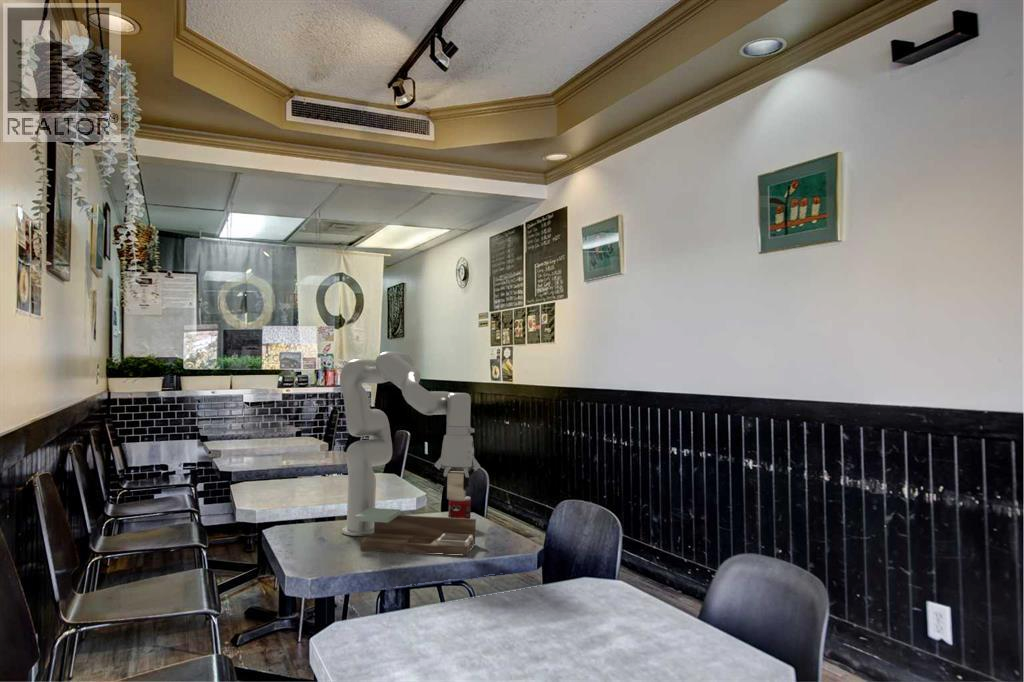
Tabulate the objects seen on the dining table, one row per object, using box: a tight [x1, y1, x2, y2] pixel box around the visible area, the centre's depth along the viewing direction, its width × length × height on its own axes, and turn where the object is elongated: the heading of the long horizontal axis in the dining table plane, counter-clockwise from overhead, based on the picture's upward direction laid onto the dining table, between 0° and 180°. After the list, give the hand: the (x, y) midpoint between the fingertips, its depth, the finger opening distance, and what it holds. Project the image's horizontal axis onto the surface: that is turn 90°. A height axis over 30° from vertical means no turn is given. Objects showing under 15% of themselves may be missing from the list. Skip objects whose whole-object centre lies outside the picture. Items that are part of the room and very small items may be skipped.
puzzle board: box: [359, 514, 477, 556], centre depth 210 cm, size 14×34×8 cm, turn 83°
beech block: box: [446, 470, 467, 500], centre depth 208 cm, size 5×5×8 cm
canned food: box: [447, 495, 472, 519], centre depth 238 cm, size 8×8×11 cm
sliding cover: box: [354, 507, 402, 523], centre depth 212 cm, size 13×11×2 cm
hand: (456, 488), depth 208 cm, fingers closed on beech block, 5 cm apart
